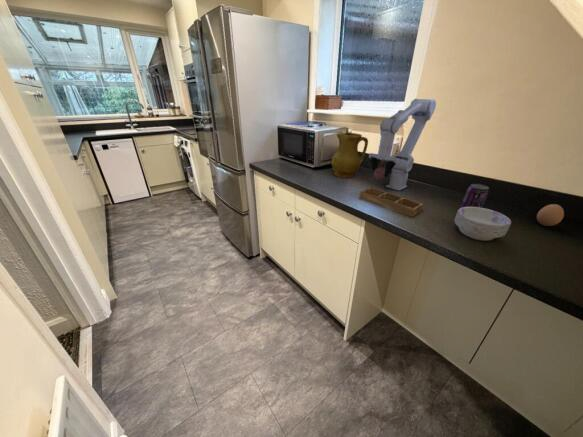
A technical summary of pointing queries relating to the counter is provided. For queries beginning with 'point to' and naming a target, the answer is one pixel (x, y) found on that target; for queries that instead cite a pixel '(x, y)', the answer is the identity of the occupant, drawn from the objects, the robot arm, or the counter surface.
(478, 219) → the paper bowls
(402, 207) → the tray
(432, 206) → the counter surface
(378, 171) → the vegetable
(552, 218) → the egg
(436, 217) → the counter surface
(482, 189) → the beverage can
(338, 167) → the pitcher
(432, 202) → the counter surface
